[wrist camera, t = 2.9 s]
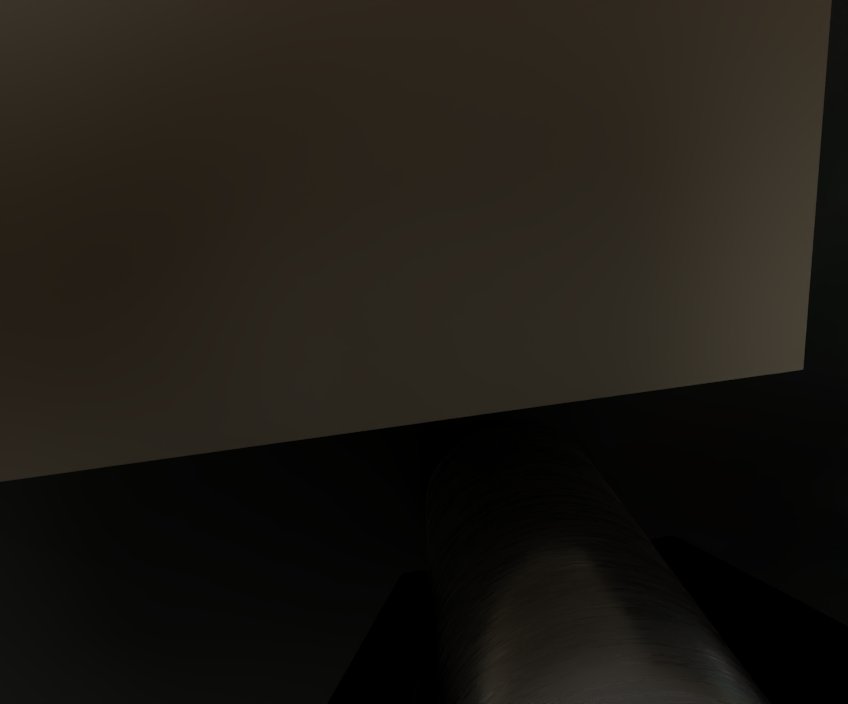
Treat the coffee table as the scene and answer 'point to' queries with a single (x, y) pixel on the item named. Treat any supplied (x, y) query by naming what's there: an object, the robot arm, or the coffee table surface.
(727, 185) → the socket board
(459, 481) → the peg
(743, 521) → the coffee table surface
